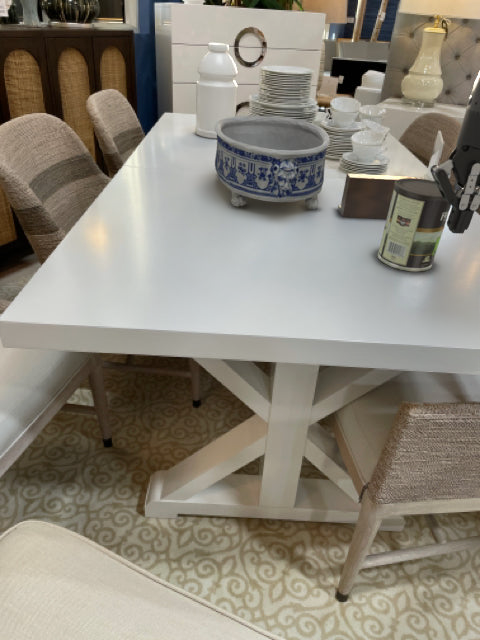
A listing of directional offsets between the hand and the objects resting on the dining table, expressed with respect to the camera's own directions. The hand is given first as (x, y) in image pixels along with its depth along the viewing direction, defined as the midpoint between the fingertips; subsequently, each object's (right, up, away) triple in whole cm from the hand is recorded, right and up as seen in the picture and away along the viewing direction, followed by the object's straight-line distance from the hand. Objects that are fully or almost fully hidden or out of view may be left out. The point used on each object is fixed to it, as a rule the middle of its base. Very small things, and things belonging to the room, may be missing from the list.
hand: (455, 231), depth 72 cm
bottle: (-42, +52, +96) cm, 117 cm away
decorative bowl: (-26, +19, +47) cm, 57 cm away
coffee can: (-2, -2, +18) cm, 18 cm away
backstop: (-2, +11, +37) cm, 38 cm away
